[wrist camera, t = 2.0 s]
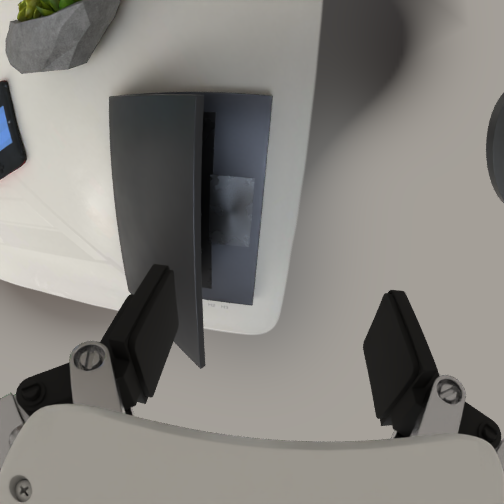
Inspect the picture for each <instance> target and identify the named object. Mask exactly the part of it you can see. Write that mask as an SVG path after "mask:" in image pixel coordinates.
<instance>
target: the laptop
mask: <svg viewBox="0 0 504 504" xmlns="http://www.w3.org/2000/svg"><path fill="white" fill-rule="evenodd" d="M148 94H193V95H204V109H203V132H202V166H201V273H202V299H205V300H213V301H220V302H228V303H236V304H245V305H252V304H253V297H254V287H255V277H256V266H257V256H258V246H259V236H260V226H261V215H262V205H263V195H264V184H265V174H266V163H267V152H268V142H269V131H270V120H271V109H272V98H273V96H271V95H259V94H245V93H226V92H162V93H143V94H130V95H148ZM119 96H124V95H119Z"/></svg>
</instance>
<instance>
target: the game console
mask: <svg viewBox="0 0 504 504" xmlns="http://www.w3.org/2000/svg"><path fill="white" fill-rule="evenodd" d="M25 162H26V156H25V152H24V149H23V146H22V142H21V139H20V135H19V132H18V128H17V124H16V120H15V116H14V112H13V108H12V103H11V98H10V94H9V88H8V83H7V82H6V81H1V82H0V180H1V179H2V178H4V177H5V176H7V175H8V174H10V173H11V172H13V171H15V170H16V169H18V168H19V167H21V166H22V165H23V164H24V163H25Z"/></svg>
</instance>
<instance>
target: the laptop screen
mask: <svg viewBox="0 0 504 504" xmlns="http://www.w3.org/2000/svg"><path fill="white" fill-rule="evenodd" d="M203 109H204V95H193V94H148V95H124V96H111V97H109V127H110V151H111V166H112V179H113V190H114V200H115V209H116V217H117V225H118V232H119V239H120V245H121V252H122V258H123V264H124V269H125V275H126V280H127V285H128V290H129V292H130V293H131V294H133V295H134V294H135V292H136V291H137V289H138V287H139V286H140V284H141V282H142V281H143V279H144V278H145V276H146V275H147V273H148V271H149V270H150V268H151V267H152V265H153V264H160V265H168V266H169V269H170V270H173V271H174V279H175V291H176V301H177V311H178V320H179V326H178V330H177V333H176V336H175V338H174V342H175V343H176V344H177V345H178V346H179V347H180V348H181V350H182V351H184V353H185V354H186V355H187V356H188V357H189V358H190V359H191V360H192V361H193V362H195V364H196V365H197V366H198V367H200V369H201V368H203V367H204V366H205V352H204V332H203V308H202V273H201V166H202V132H203Z"/></svg>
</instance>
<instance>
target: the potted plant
mask: <svg viewBox="0 0 504 504" xmlns="http://www.w3.org/2000/svg"><path fill="white" fill-rule="evenodd" d="M120 1H121V0H23V1H22V2H20V3H19V4H18V6H19V13H18V16H17V19H18V20H15V21H10V26H9V31H8V34H7V37H6V54H7V57H8V60H9V62H10V65H12V66H13V67H14V68H15V69H17V70H18V71H19V72H20V73H22V74H23V73H33V72H44V71H54V70H65V69H70V68H73V67H76V66H79V65H81V64H84V63H87V61H88V60H89V58H90V56H91V54H92V52H93V51H94V49H95V47H96V45H97V44H98V42H99V40H100V39H101V37H102V35H103V34H104V32H105V30H106V29H107V27H108V26H109V24H110V23H111V21H112V20H113V19H114V17H115V14H116V11H117V9H118V6H119V3H120Z"/></svg>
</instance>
